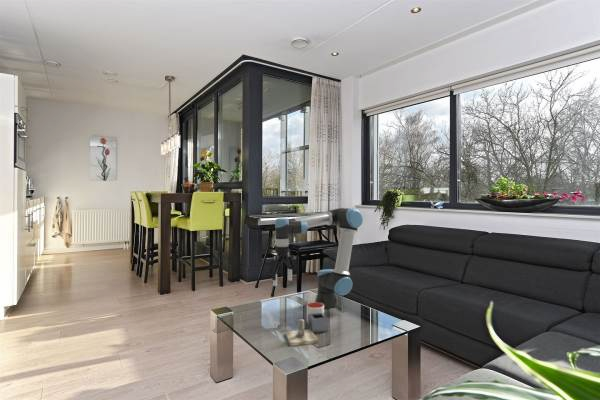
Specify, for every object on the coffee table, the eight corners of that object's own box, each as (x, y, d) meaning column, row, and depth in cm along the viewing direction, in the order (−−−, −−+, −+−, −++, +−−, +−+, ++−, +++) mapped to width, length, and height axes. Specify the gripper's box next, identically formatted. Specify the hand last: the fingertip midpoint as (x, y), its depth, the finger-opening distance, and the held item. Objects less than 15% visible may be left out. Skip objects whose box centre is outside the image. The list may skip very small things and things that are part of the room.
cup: (322, 326, 197) (322, 308, 197) (305, 325, 199) (305, 307, 199) (325, 319, 207) (325, 302, 207) (308, 318, 209) (308, 301, 209)
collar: (323, 325, 199) (323, 312, 198) (328, 331, 190) (328, 318, 190) (308, 326, 197) (307, 314, 196) (312, 332, 188) (312, 319, 188)
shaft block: (310, 331, 189) (310, 314, 189) (318, 342, 176) (318, 323, 175) (284, 334, 186) (284, 316, 186) (290, 346, 172) (290, 326, 172)
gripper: (290, 242, 213) (290, 277, 214) (262, 248, 193) (263, 287, 193) (300, 243, 209) (300, 279, 209) (273, 249, 188) (273, 289, 189)
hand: (282, 283), depth 201 cm, fingers open, 13 cm apart
